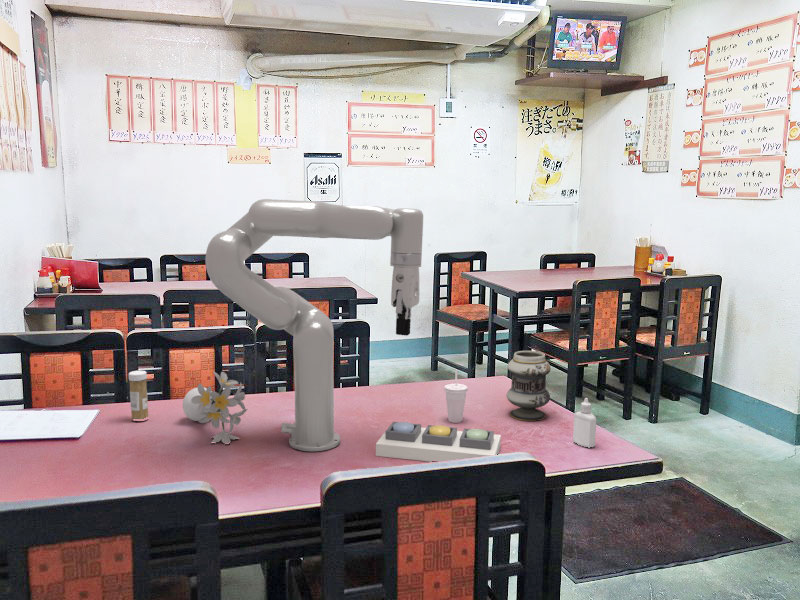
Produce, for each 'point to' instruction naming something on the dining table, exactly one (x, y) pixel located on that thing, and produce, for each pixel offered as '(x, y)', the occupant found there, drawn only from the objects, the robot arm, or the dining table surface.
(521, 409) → the apothecary jar
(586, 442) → the eye dropper bottle
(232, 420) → the flower vase
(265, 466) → the dining table surface
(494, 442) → the button panel
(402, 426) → the blue button
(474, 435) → the sage button
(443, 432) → the mustard button
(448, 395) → the smoothie
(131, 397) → the sprinkles bottle
